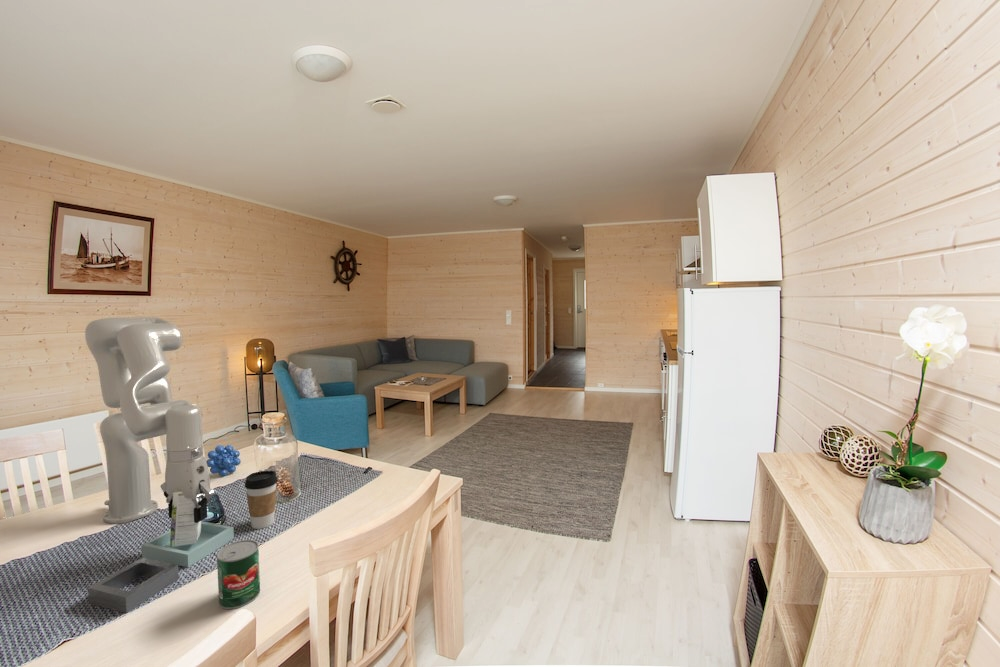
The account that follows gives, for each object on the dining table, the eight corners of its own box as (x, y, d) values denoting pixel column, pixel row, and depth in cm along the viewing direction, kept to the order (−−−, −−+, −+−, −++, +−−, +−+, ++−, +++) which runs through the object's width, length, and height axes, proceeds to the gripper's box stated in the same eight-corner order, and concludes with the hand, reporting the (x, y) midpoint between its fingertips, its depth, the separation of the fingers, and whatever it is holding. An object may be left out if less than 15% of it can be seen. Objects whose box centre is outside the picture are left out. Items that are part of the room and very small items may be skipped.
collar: (88, 603, 90) (87, 587, 90) (143, 571, 101) (142, 557, 101) (126, 613, 88) (125, 597, 87) (178, 579, 98) (177, 565, 98)
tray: (142, 557, 106) (141, 545, 106) (191, 530, 119) (190, 519, 119) (188, 567, 103) (187, 554, 102) (233, 538, 115) (233, 527, 115)
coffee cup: (264, 533, 118) (262, 481, 117) (239, 529, 120) (237, 478, 119) (285, 518, 126) (284, 470, 125) (261, 514, 128) (259, 467, 127)
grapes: (211, 484, 148) (210, 451, 147) (203, 479, 152) (202, 447, 151) (246, 473, 158) (245, 442, 157) (237, 469, 161) (236, 439, 160)
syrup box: (175, 537, 111) (177, 483, 111) (202, 533, 114) (204, 481, 114) (169, 548, 106) (171, 491, 106) (197, 543, 109) (199, 489, 109)
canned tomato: (244, 580, 98) (243, 536, 97) (268, 590, 95) (266, 544, 94) (210, 603, 91) (208, 555, 90) (234, 614, 88) (232, 564, 87)
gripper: (224, 452, 110) (227, 515, 112) (173, 445, 114) (176, 506, 116) (198, 462, 103) (200, 530, 104) (144, 454, 107) (148, 520, 109)
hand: (188, 517), depth 110 cm, fingers closed on syrup box, 7 cm apart
